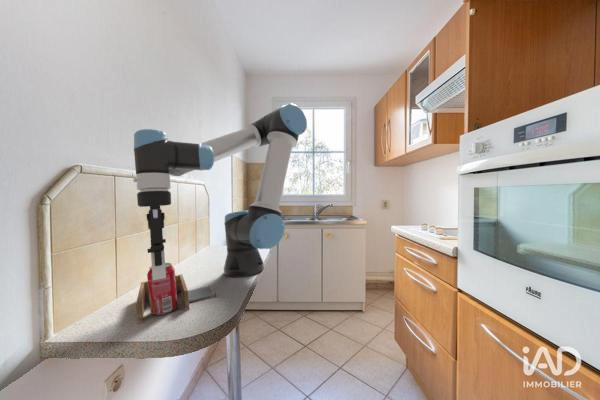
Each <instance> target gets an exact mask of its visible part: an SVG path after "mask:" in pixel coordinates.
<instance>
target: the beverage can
mask: <svg viewBox="0 0 600 400" xmlns="http://www.w3.org/2000/svg"><path fill="white" fill-rule="evenodd" d="M165 270H166V278H163V279H158V280H153V276H152V265H150V267H149V270H148V272H147V274H146V276H147V281H148V289H149V298H148V299H149V310H150V314H153V315H157V316H161V315H165V314H168V313H170V312H173V311H174V310H175V309H176V308H177V307H178V295H177V293H178V292H176V280H175V275H176V271H175V270H176V269H175V266H173V265H172V263H170V262H165Z"/></svg>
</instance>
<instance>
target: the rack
mask: <svg viewBox="0 0 600 400" xmlns="http://www.w3.org/2000/svg"><path fill="white" fill-rule="evenodd" d="M175 280H176V292H177V293H178V292H180V293H181V298H182V301H183V304H185V305H184V308H186V309H185V311H189V310H190V303H189V300H188V291H189V290H188V287H187V284H186V281H185V279H184V275H183V274H182V273H181V274H175ZM138 290H139V291H138V295H137V298H136V314H137V315H136V316H137V324H142V323H143V319H144V313H145V306H146V305H145V304H146V300H148V299H149V289H148V280H147V281H143V282H141V281H140V287H139V289H138Z"/></svg>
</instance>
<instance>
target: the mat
mask: <svg viewBox="0 0 600 400" xmlns="http://www.w3.org/2000/svg"><path fill="white" fill-rule="evenodd" d="M214 297H216V293H215V292H214V290H213V289H212V287H211V286H210V285H206V286H203V287H198V288H195V289H190V290H188V300H189V304H191V303H190V302H192V303H195V302H199V301H203V300H206V299H209V298H211V299H212V298H214ZM198 300H199V301H198ZM194 301H195V302H194Z"/></svg>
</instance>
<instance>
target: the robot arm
mask: <svg viewBox="0 0 600 400" xmlns="http://www.w3.org/2000/svg"><path fill="white" fill-rule="evenodd" d="M307 126H308V122H307V117H306V115H305V113H304V111H303V109H301V108H300V106H298V105H296V104H294V103H287V104H284V105H282V106H281V107H279V108H277V109H275V110H273V111H271V112H269V113H267V114H265V115H264V116H262V117H260V118H259V119H258V120H256V121H254V122H252V123H249V124H247V125H245V128H242V129H240V130H237V131H234V132H233V131H232V132H230V133H228V134H224V135H221V136H219V137H216V138H212V139H209V140H206V141H203V142H200V143H192V142H190V143H189V142H182V141H172V140H169V139H168V136H167V134H166V132H165V131H162V130H161V131H160V130H158V129H152V128H151V129H148V128H143V129H140V130H139V129H138V130H136V131H135V132H134V134H133V154H134V165H135V176H136V177H135V178H134V177H133V183H136V190H137V191H138V192H137V193H136V199H137V206H138V207H141V208H143V207H144V208H145V207H149V210H148V213H146V221H147V227H148V230H149V231H150V232H149V233H150V237H149V238H150V248H147V253H148V254H149V253H150V256H151V257H150V258H151V266H152V276H153V280H158V279H163V278H166V270H165V263H166V258H165V255H166V254H165V245H164V243H166V242H167V241H166V238H164V235H163V229H164V228H165V219H166V216H165V212H163V210H162V209H161V207H162V206H170V205H171V204H172V195H171V194H172V193H171V192H170V191H169V190H170V189H172V188H171V187H172V186H171V176H173V177H180V176H184V175H185V174H188V173H190V172H193V171H209V170H211V169H212V168H213V166H214V163H215V162H218V161H220V160H223V159H225V158H227V157H230V156H232V155H236V154H238V153H240V152H243V151H245V150H249V149H251V148H254V149H257V148H260V147H263V146H267V145H268V148H267V151H266V156H265V159H264V164H263V168H262V171H261V175H260V176H261V177H260V179H259V185H258V188H257V192H256V196H255V200H254V202H253V203H251V204H250V205H249V207H248V210H240V211H239V210H238V211H233V212H229V213H227V214H225V216H224V223H223V224H224V230H225V242H226V252H227V253H226V258H225V262H224V266H223V273H224V276H225V277H230V278H239V277H240V278H241V277H242V278H243V277H249V276H253V275H256V274H259V273H261V272H263V271H264V270H265V265H264V260H263V258H262V256H261V254H260V251H259V250H263V249H265V250H267V249H273V248H274V247H276V246H277V245H279V244H280V242H281V240H282V239H283V237H284V235H285V229H286V227H285V223H283V222H284V220H283V219H282V211H281V209H280V207H279V206H280V203H281V199H282V194H283V190H284V185H285V181H286V177H287V172H288V167H289V163H290V158H291V153H292V149H293V148H295V147H296V146H297V144H298V140H299V136H301V135H303V133H305V132H306V130H307V129H308V128H307Z"/></svg>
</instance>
